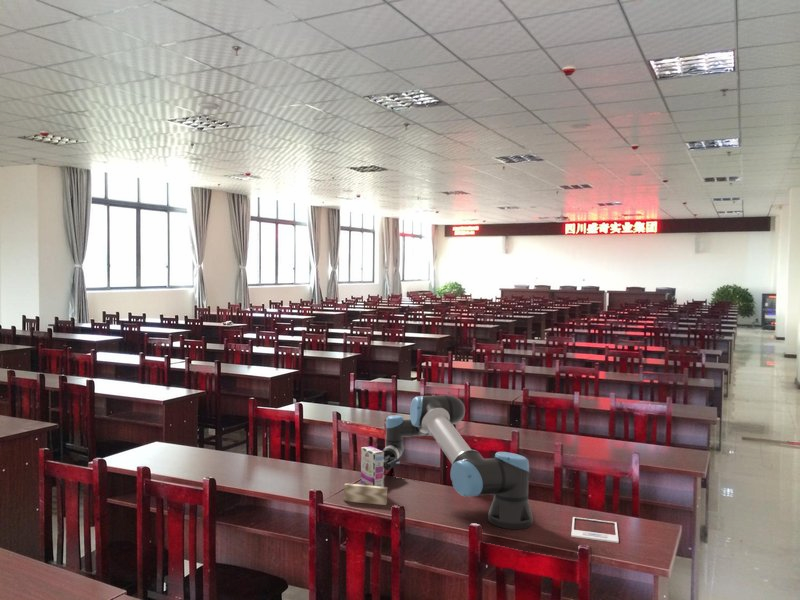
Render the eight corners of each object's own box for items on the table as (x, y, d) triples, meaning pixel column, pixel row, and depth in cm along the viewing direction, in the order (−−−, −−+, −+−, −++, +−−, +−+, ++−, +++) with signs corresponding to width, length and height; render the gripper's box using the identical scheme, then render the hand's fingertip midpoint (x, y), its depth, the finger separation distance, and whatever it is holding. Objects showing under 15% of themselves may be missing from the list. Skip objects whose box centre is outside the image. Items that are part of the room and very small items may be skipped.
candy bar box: (385, 494, 243) (385, 451, 243) (373, 496, 241) (373, 453, 240) (371, 486, 253) (371, 445, 252) (360, 488, 250) (360, 446, 250)
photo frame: (571, 534, 206) (572, 516, 223) (571, 537, 206) (572, 519, 223) (618, 540, 202) (616, 521, 219) (618, 544, 202) (616, 524, 219)
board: (386, 503, 233) (387, 487, 233) (385, 505, 231) (386, 488, 231) (345, 499, 236) (345, 483, 236) (343, 500, 234) (344, 484, 234)
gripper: (403, 466, 273) (391, 482, 250) (374, 463, 275) (359, 479, 252) (403, 449, 273) (391, 463, 249) (374, 446, 275) (360, 460, 252)
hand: (375, 471), depth 251 cm, fingers closed
